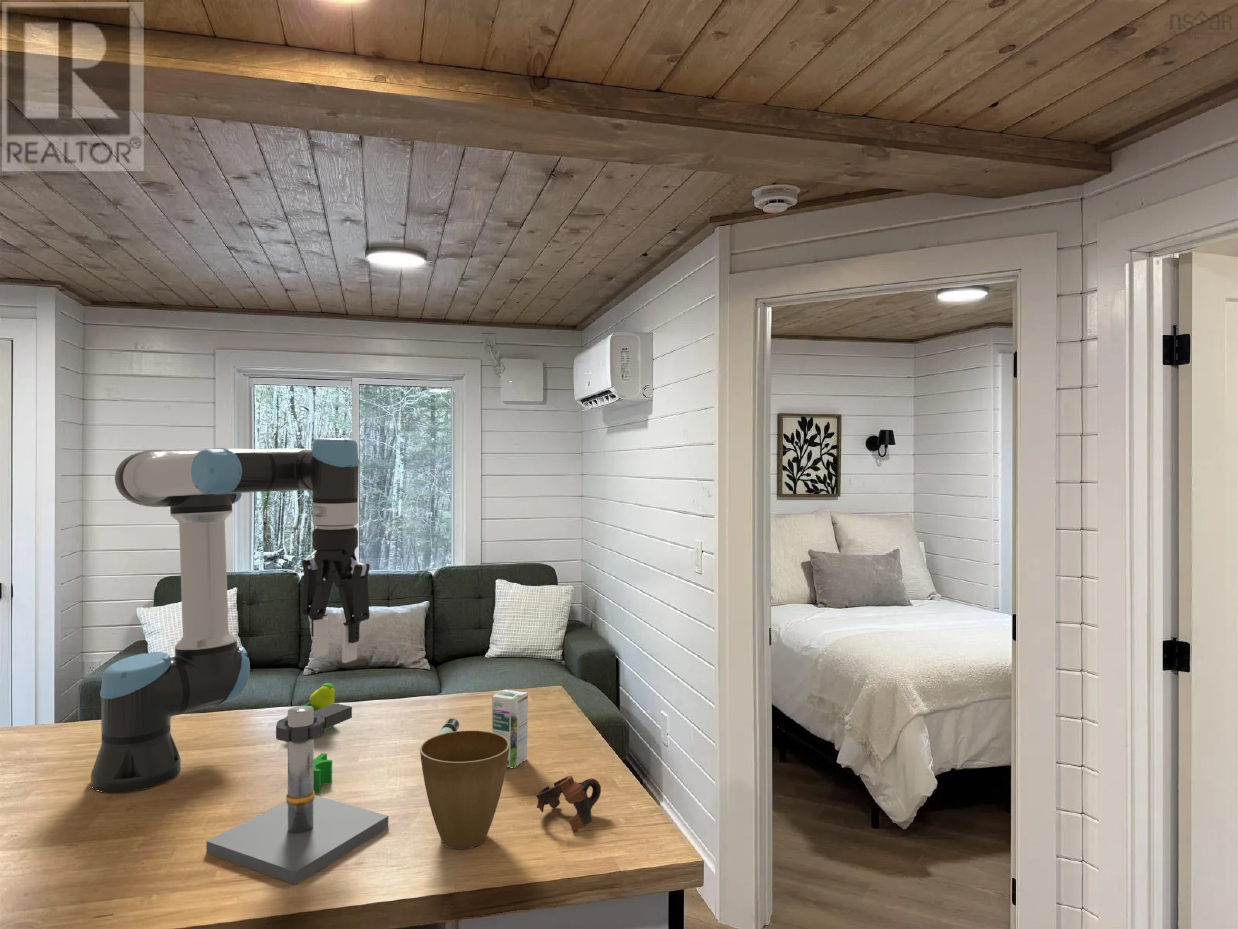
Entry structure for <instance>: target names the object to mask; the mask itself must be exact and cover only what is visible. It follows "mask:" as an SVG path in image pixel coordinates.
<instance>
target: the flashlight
mask: <svg viewBox="0 0 1238 929" xmlns="http://www.w3.org/2000/svg"><path fill="white" fill-rule="evenodd" d="M459 728H460V723H459V720H458V719H457V718H455V717H450V718H448V719H447V720H446V721H445V723H444V725H442V727H441V728H440V730H439V732H438V734H437V735H440V734H444V733H448V732H454V731H458V729H459Z"/></svg>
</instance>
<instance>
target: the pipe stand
mask: <svg viewBox="0 0 1238 929" xmlns="http://www.w3.org/2000/svg"><path fill="white" fill-rule="evenodd" d="M388 828H389V815H388V814H383V813H380V812H377V811H372V810H371V809H370V810H369V809H366V808H362V807H359V806H356V805H355V806H354V805H351V804H348V803H344V802H342V801H336V800H335V799H334V800H333V799H330V798H327V797H322V796H318V795H317V794H315V799H314V800H313V828H312V829H311V830H310V831H308V832H305V833H301V834H292V833H289V832H288V804H287V802H286V801H285V802H282V803H280V804H279V805H276V806H275V807H273V808H270V809H268V810H266V811H264V812H263V813H261V814H258V815H256V816H254V817H252V818H250V819H247V820H246V821H244V822H242V823H240V824H238V825H236V826H234V827H232V828H229V829H228V830H225V831H223V832H222V833H220V834H218V835H216V836H214V837H211V838H209V839H208V840H206V843H205V845H206V848H205V849H206V854H207V855H209V856H213V857H216V858H217V859H218V858H219V859H222V860H225V861H226V862H227V861H228V862H230V863H234V864H235V865H238V866H241V867H244V868H247V869H250V870H253V871H255V872H259V873H262V874H264V875H266V876H269V877H272V878H275V879H278V880H281V881H284V882H286V883H290V884H292V885H297V884H299V883H301V882H302V881H304V880H306V879H308V878H309V877H310V876H312V875H314V874H315V873H317V872H319V871H320V870H322V869H323V868H325V867H327V866H328V865H330V864H332V863H333V862H335V861H336V860H339V858H341V857H343V856H344V855H346V854H347V853H349V852H351V851H353V850H354V849H355V848H357V847H359V846H360V845H362V844H364V843H365V842H367V841H368V840H370V839H372V838H374V837H375V836H377V835H379V833H382V832H383V831H384V830H386V829H388Z"/></svg>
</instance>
